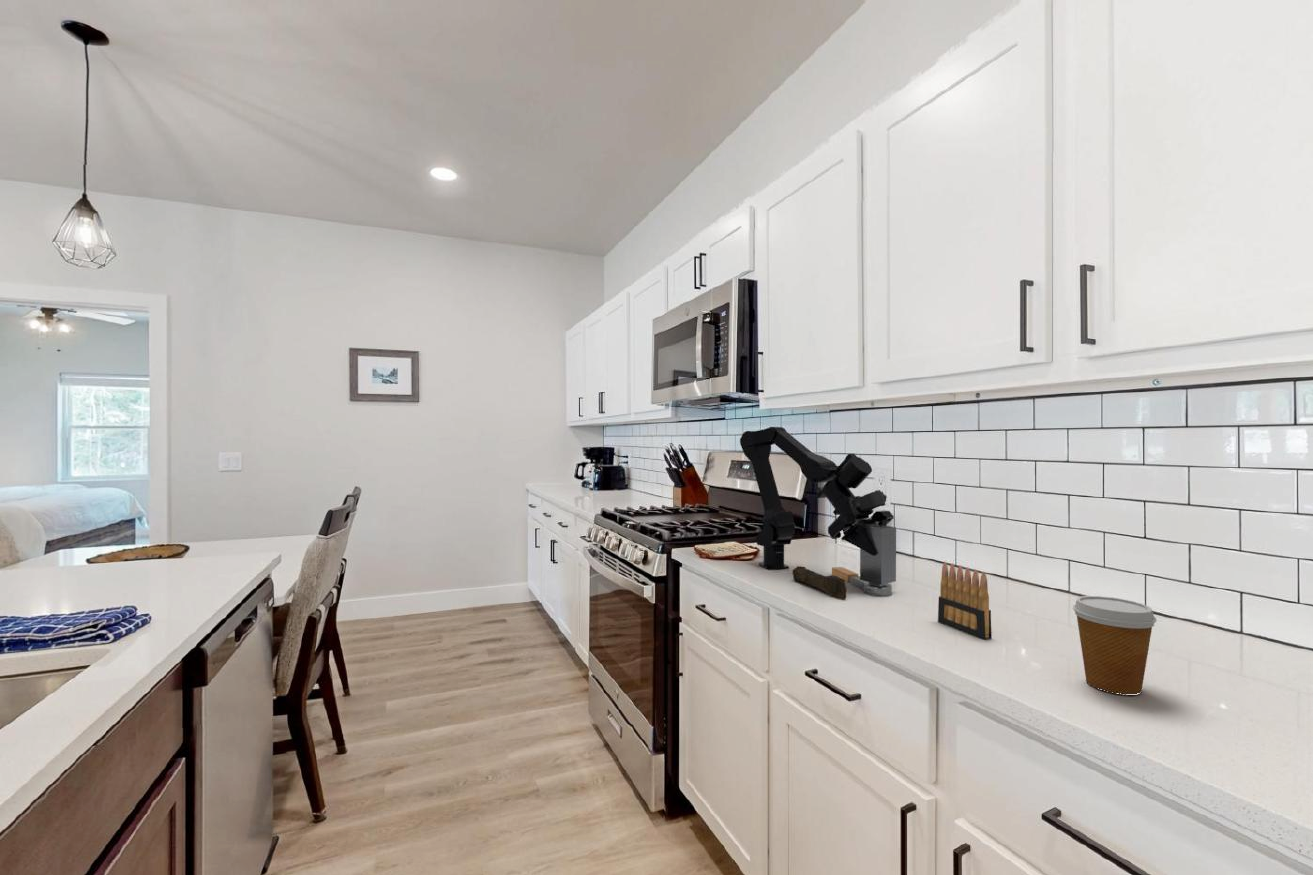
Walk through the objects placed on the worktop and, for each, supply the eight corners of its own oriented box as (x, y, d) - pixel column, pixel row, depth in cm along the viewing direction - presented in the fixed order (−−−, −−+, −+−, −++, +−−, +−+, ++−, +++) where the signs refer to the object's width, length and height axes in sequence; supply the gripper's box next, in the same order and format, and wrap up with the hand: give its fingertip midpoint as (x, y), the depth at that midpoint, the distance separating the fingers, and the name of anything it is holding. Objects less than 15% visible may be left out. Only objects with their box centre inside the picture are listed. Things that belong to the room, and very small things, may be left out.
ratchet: (826, 575, 152) (826, 556, 152) (847, 574, 153) (847, 555, 153) (873, 597, 131) (873, 575, 131) (897, 596, 132) (897, 574, 132)
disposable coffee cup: (1131, 706, 77) (1131, 617, 77) (1058, 679, 86) (1058, 599, 86) (1171, 694, 81) (1171, 609, 81) (1097, 669, 90) (1097, 592, 90)
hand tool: (791, 582, 146) (791, 563, 146) (805, 580, 147) (805, 562, 147) (834, 602, 127) (834, 581, 127) (850, 601, 128) (850, 580, 128)
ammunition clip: (992, 639, 104) (992, 572, 104) (984, 640, 103) (984, 572, 103) (944, 621, 114) (945, 560, 114) (937, 622, 113) (937, 560, 113)
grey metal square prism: (860, 579, 135) (860, 526, 135) (874, 576, 138) (874, 524, 138) (881, 584, 130) (881, 529, 130) (895, 581, 134) (896, 527, 133)
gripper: (838, 480, 132) (881, 536, 123) (887, 477, 143) (929, 528, 134) (811, 511, 139) (849, 565, 130) (859, 506, 149) (898, 556, 140)
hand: (883, 553), depth 133 cm, fingers closed on grey metal square prism, 6 cm apart
